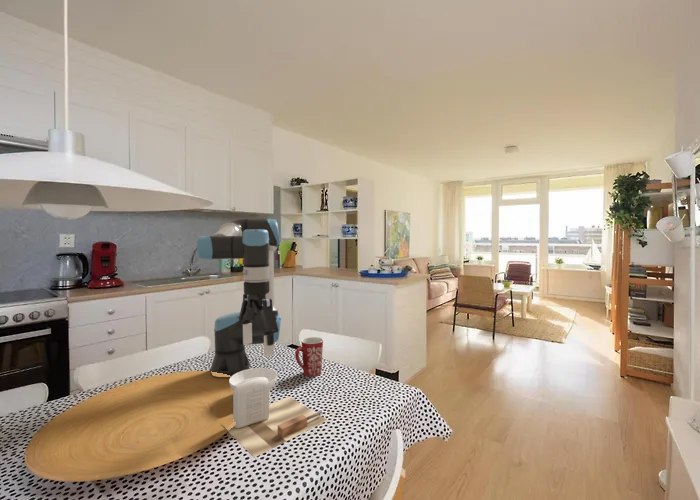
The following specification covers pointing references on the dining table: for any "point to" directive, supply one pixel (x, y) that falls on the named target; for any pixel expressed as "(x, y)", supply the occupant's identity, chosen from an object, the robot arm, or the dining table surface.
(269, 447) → the light wooden cutting board
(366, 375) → the dining table surface
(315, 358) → the mug
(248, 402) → the photo printer
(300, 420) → the awl
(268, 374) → the bowl
